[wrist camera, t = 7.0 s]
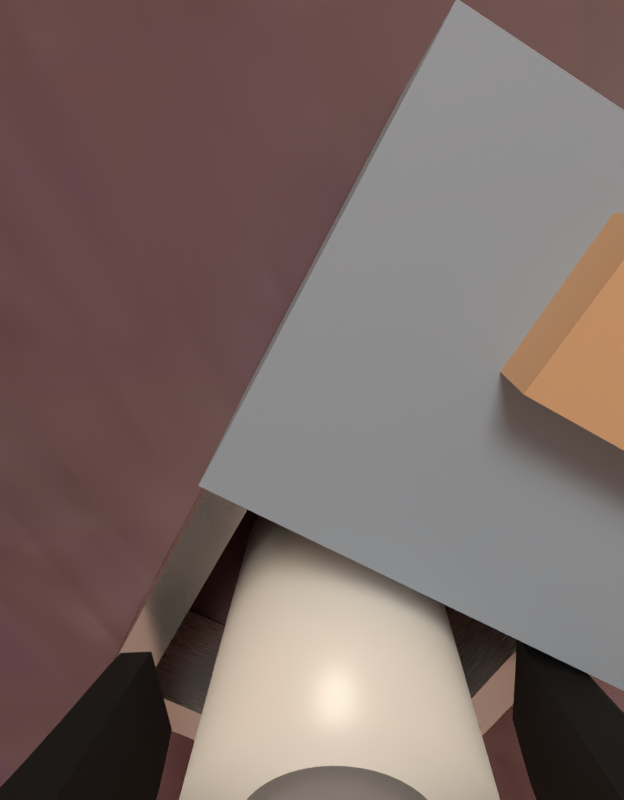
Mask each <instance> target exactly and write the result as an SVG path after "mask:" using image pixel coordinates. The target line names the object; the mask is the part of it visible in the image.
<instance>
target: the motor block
mask: <svg viewBox="0 0 624 800" xmlns="http://www.w3.org/2000/svg"><path fill="white" fill-rule="evenodd" d="M199 486H200V487H202V488H204V489H206V490H208V491H210V492H212V493H214V494H216V495H218V496H221V497H223V498H225V499H227V500H229V501H231V502H233V503H235V504H237V505H239V506H241V507H243V508H245V509H248V510H250V511H252V512H254V513H256V514H258V515H260V516H262V517H264V518H266V519H268V520H270V521H272V522H274V523H277V524H279V525H281V526H283V527H285V528H287V529H289V530H291V531H293V532H295V533H297V534H299V535H301V536H303V537H306V538H308V539H310V540H312V541H314V542H316V543H318V544H320V545H322V546H324V547H326V548H328V549H330V550H332V551H335V552H337V553H339V554H341V555H343V556H345V557H347V558H349V559H351V560H353V561H355V562H357V563H359V564H362V565H364V566H366V567H368V568H370V569H372V570H374V571H376V572H378V573H380V574H382V575H384V576H386V577H388V578H391V579H393V580H395V581H397V582H399V583H401V584H403V585H405V586H407V587H409V588H411V589H413V590H415V591H417V592H420V593H422V594H424V595H426V596H428V597H430V598H432V599H434V600H436V601H438V602H440V603H442V604H444V605H446V606H449V607H451V608H453V609H455V610H457V611H459V612H461V613H463V614H465V615H467V616H469V617H471V618H473V619H476V620H478V621H480V622H482V623H484V624H486V625H488V626H490V627H492V628H494V629H496V630H498V631H500V632H502V633H505V634H507V635H509V636H511V637H513V638H515V639H517V640H519V641H521V642H523V643H525V644H527V645H529V646H531V647H534V648H536V649H538V650H540V651H542V652H544V653H546V654H548V655H550V656H552V657H554V658H556V659H558V660H560V661H563V662H565V663H567V664H569V665H571V666H573V667H575V668H577V669H579V670H581V671H583V672H585V673H587V674H590V675H592V676H594V677H596V678H598V679H600V680H602V681H604V682H606V683H608V684H610V685H612V686H614V687H616V688H619V689H621V690H623V691H624V110H623V109H621V108H620V107H618V106H617V105H615V104H614V103H612V102H611V101H609V100H608V99H606V98H605V97H603V96H602V95H600V94H599V93H597V92H596V91H594V90H593V89H591V88H590V87H588V86H587V85H585V84H584V83H582V82H581V81H579V80H578V79H576V78H575V77H573V76H572V75H570V74H569V73H567V72H566V71H564V70H563V69H561V68H560V67H558V66H557V65H555V64H554V63H552V62H551V61H549V60H548V59H546V58H545V57H543V56H542V55H540V54H539V53H537V52H536V51H535V50H533V49H532V48H530V47H529V46H527V45H526V44H524V43H523V42H521V41H520V40H518V39H517V38H515V37H514V36H512V35H511V34H509V33H508V32H506V31H505V30H503V29H502V28H500V27H499V26H497V25H496V24H494V23H493V22H491V21H490V20H488V19H487V18H485V17H484V16H482V15H481V14H479V13H478V12H476V11H475V10H473V9H472V8H470V7H469V6H467V5H466V4H464V3H463V2H461V1H460V0H456V1H455V3H454V4H453V6H452V8H451V9H450V11H449V13H448V15H447V16H446V18H445V20H444V22H443V23H442V25H441V27H440V29H439V30H438V32H437V34H436V36H435V37H434V39H433V41H432V42H431V44H430V46H429V48H428V49H427V51H426V53H425V55H424V56H423V58H422V60H421V62H420V63H419V65H418V67H417V69H416V70H415V72H414V74H413V75H412V77H411V79H410V81H409V82H408V84H407V86H406V88H405V89H404V91H403V93H402V95H401V96H400V98H399V100H398V102H397V104H396V106H395V108H394V109H393V111H392V113H391V115H390V117H389V119H388V121H387V123H386V125H385V127H384V128H383V130H382V132H381V134H380V136H379V138H378V140H377V142H376V144H375V146H374V147H373V149H372V151H371V153H370V155H369V157H368V159H367V161H366V163H365V164H364V166H363V168H362V170H361V172H360V174H359V176H358V178H357V180H356V182H355V183H354V185H353V187H352V189H351V191H350V193H349V195H348V197H347V199H346V201H345V202H344V204H343V206H342V208H341V210H340V212H339V214H338V216H337V218H336V220H335V221H334V223H333V225H332V227H331V229H330V231H329V233H328V235H327V237H326V238H325V240H324V242H323V244H322V246H321V248H320V250H319V252H318V254H317V256H316V257H315V259H314V261H313V263H312V265H311V267H310V269H309V271H308V273H307V275H306V276H305V278H304V280H303V282H302V284H301V286H300V288H299V290H298V292H297V293H296V295H295V297H294V299H293V301H292V303H291V305H290V307H289V309H288V311H287V312H286V314H285V316H284V318H283V320H282V322H281V324H280V326H279V328H278V330H277V331H276V333H275V335H274V337H273V339H272V341H271V343H270V345H269V347H268V348H267V350H266V352H265V354H264V356H263V358H262V360H261V362H260V364H259V366H258V367H257V369H256V371H255V373H254V375H253V377H252V379H251V381H250V383H249V385H248V387H247V389H246V391H245V393H244V395H243V397H242V399H241V401H240V403H239V405H238V407H237V409H236V411H235V413H234V415H233V417H232V419H231V421H230V423H229V425H228V427H227V429H226V431H225V433H224V435H223V437H222V439H221V441H220V443H219V445H218V447H217V449H216V452H215V454H214V456H213V458H212V460H211V462H210V464H209V466H208V468H207V470H206V472H205V474H204V476H203V478H202V480H201V482H200V484H199Z"/></svg>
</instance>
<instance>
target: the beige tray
mask: <svg viewBox="0 0 624 800" xmlns="http://www.w3.org/2000/svg"><path fill="white" fill-rule="evenodd" d="M247 510H248V509H245V508H243V507H241V506H239V505H237V504H235V503H233V502H231V501H229V500H227V499H225V498H223V497H221V496H218V495H216V494H214V493H212V492H210V491H208V490H206V489H204V488H203V490H202V492H201V494H200V496H199V498H198V500H197V501H196V503H195V505H194V507H193V509H192V511H191V513H190V515H189V516H188V518H187V520H186V522H185V524H184V526H183V528H182V530H181V531H180V533H179V535H178V537H177V539H176V541H175V543H174V544H173V546H172V548H171V550H170V552H169V554H168V556H167V558H166V559H165V561H164V563H163V565H162V567H161V569H160V571H159V572H158V574H157V576H156V578H155V580H154V582H153V584H152V586H151V587H150V589H149V591H148V593H147V595H146V597H145V599H144V600H143V602H142V604H141V606H140V608H139V610H138V612H137V614H136V616H135V618H134V620H133V622H132V624H131V626H130V628H129V630H128V632H127V634H126V636H125V638H124V640H123V642H122V644H121V646H120V648H119V650H118V652H117V654H116V656H115V658H116V657H117V656H118V655H119V654H120V653H129V652H152V656H153V659H154V663H155V667H156V671H157V675H158V678H159V682H160V686H161V690H162V694H163V698H164V701H165V705H166V709H167V713H168V717H169V720H170V724H171V728H172V730H171V731H174V732H176V733H179V734H181V735H183V736H186V737H188V738H191V739H193V740H195V738H196V734H197V730H198V726H199V722H200V719H201V715H202V711H203V707H204V704H205V700H206V696H207V692H208V689H209V685H210V681H211V677H212V673H213V670H214V666H215V662H216V658H217V655H218V651H219V647H220V643H221V640H222V636H223V632H224V628H225V626H224V625H222V624H219V623H217V622H215V621H213V620H210V619H208V618H206V617H204V616H201V615H199V614H197V613H195V612H192V611H190V610H189V609H190V607H191V606H192V604H193V602H194V601H195V599H196V597H197V595H198V594H199V592H200V590H201V589H202V587H203V585H204V583H205V582H206V580H207V578H208V577H209V575H210V573H211V571H212V570H213V568H214V566H215V565H216V563H217V561H218V559H219V558H220V556H221V554H222V553H223V551H224V549H225V547H226V546H227V544H228V542H229V540H230V539H231V537H232V535H233V534H234V532H235V530H236V528H237V527H238V525H239V523H240V522H241V520H242V518H243V516H244V515H245V513H246V511H247ZM446 612H447V615H448V619H449V622H450V626H451V629H452V633H453V636H454V640H455V643H456V647H457V650H458V654H459V657H460V661H461V664H462V668H463V671H464V675H465V678H466V682H467V685H468V689H469V692H470V696H471V699H472V703H473V706H474V710H475V713H476V717H477V720H478V724H479V727H480V731H481V734H482V736H483V735H484V734H485V733H486V731H487V730H488V729H489V728H490V727H491V726H492V725H493V724H494V723H495V722H496V721H497V720H498V719H499V718H500V717H501V716H502V715H503V714H504V713H505V712H506V711H507V710H508V709H509V708H510V707H511V706H512V705H513V702H514V684H515V666H516V647H517V639H515V638H513V637H511V636H509V635H507V634H505V633H502V632H500V631H498V630H496V629H494V628H492V627H490V626H488V625H486V624H484V623H482V622H480V621H478V620H476V619H473V618H471V617H469V616H467V615H465V614H463V613H461V612H459V611H457V610H455V609H453V608H451V607H449V608H448V609H447V610H446ZM115 658H114V660H115ZM114 660H113V661H114Z"/></svg>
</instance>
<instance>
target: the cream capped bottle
mask: <svg viewBox="0 0 624 800" xmlns="http://www.w3.org/2000/svg"><path fill="white" fill-rule="evenodd" d="M179 800H500V798H499V794H498V790H497V787H496V783H495V780H494V776H493V773H492V769H491V766H490V762H489V759H488V755H487V752H486V748H485V745H484V741H483V738H482V734H481V731H480V727H479V724H478V720H477V717H476V713H475V710H474V706H473V703H472V699H471V696H470V692H469V689H468V685H467V682H466V678H465V675H464V671H463V668H462V664H461V661H460V657H459V654H458V650H457V647H456V643H455V640H454V636H453V633H452V629H451V626H450V622H449V619H448V615H447V612H446V608H445V605H444V604H442V603H440V602H438V601H436V600H434V599H432V598H430V597H428V596H426V595H424V594H422V593H420V592H417V591H415V590H413V589H411V588H409V587H407V586H405V585H403V584H401V583H399V582H397V581H395V580H393V579H391V578H388V577H386V576H384V575H382V574H380V573H378V572H376V571H374V570H372V569H370V568H368V567H366V566H364V565H362V564H359V563H357V562H355V561H353V560H351V559H349V558H347V557H345V556H343V555H341V554H339V553H337V552H335V551H332V550H330V549H328V548H326V547H324V546H322V545H320V544H318V543H316V542H314V541H312V540H310V539H308V538H306V537H303V536H301V535H299V534H297V533H295V532H293V531H291V530H289V529H287V528H285V527H283V526H281V525H279V524H277V523H274V522H272V521H270V520H268V519H266V518H264V517H262V516H260V515H258V517H257V519H256V520H255V522H254V524H253V526H252V529H251V531H250V534H249V538H248V542H247V545H246V549H245V553H244V557H243V560H242V564H241V568H240V572H239V575H238V579H237V583H236V587H235V591H234V594H233V598H232V602H231V606H230V609H229V613H228V617H227V621H226V624H225V628H224V632H223V636H222V640H221V643H220V647H219V651H218V655H217V658H216V662H215V666H214V670H213V673H212V677H211V681H210V685H209V689H208V692H207V696H206V700H205V704H204V707H203V711H202V715H201V719H200V722H199V726H198V730H197V734H196V738H195V741H194V745H193V749H192V753H191V756H190V760H189V764H188V768H187V771H186V775H185V779H184V783H183V787H182V790H181V794H180V798H179Z"/></svg>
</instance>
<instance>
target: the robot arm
mask: <svg viewBox="0 0 624 800" xmlns="http://www.w3.org/2000/svg"><path fill="white" fill-rule="evenodd" d="M513 722H514V726H515V730H516V733H517V737H518V741H519V744H520V748H521V752H522V755H523V759H524V762H525V765H526V769H527V772H528V776H529V779H530V783H531V786H532V788H533V791H534V794H535V796H536V799H537V800H624V713H623V712H622V711H621V710H620V709H619V708H618V706H617V705H616V704H615V703H614V702H613V701H612V700H611V699H610V698H609V697H608V696H607V695H606V693H605V692H604V691H603V690H602V689H601V688H600V687H599V686H598V685H597V684H596V683H595V681H594V680H593V679H592V678H591V677H590V676H589V675H588V674H587V673H585V672H583V671H581V670H579V669H577V668H575V667H573V666H571V665H569V664H567V663H565V662H563V661H560V660H558V659H556V658H554V657H552V656H550V655H548V654H546V653H544V652H542V651H540V650H538V649H536V648H534V647H531V646H529V645H527V644H525V643H523V642H521V641H519V640H517V647H516V666H515V684H514V702H513ZM171 730H172V728H171V724H170V720H169V717H168V713H167V709H166V705H165V701H164V698H163V694H162V690H161V686H160V682H159V678H158V675H157V671H156V667H155V663H154V659H153V656H152V652H129V653H120V654H119V655H118V656H117V657H116V658H115V660H114V661H113V662H112V663H111V664H110V665H109V666H108V667H107V668H106V670H105V671H104V672H103V673H102V674H101V675H100V676H99V678H98V679H97V680H96V681H95V682H94V683H93V685H92V686H91V687H90V688H89V689H88V690H87V691H86V693H85V694H84V695H83V696H82V697H81V698H80V700H79V701H78V702H77V703H76V704H75V705H74V706H73V708H72V709H71V710H70V711H69V712H68V713H67V714H66V716H65V717H64V718H63V719H62V720H61V721H60V723H59V724H58V725H57V726H56V727H55V728H54V729H53V730H52V731H51V733H50V734H49V735H48V736H47V737H46V738H45V739H44V740H43V742H42V743H41V744H40V745H39V746H38V747H37V748H36V749H35V750H34V752H33V753H32V754H31V755H30V756H29V757H28V758H27V759H26V760H25V762H24V763H23V764H22V765H21V766H20V767H19V768H18V769H17V770H16V771H15V772H14V774H13V775H12V776H11V777H10V778H9V779H8V780H7V781H6V782H5V783H4V784H3V785H2V786H1V787H0V800H156V798H157V794H158V791H159V786H160V782H161V778H162V773H163V769H164V764H165V760H166V755H167V750H168V745H169V740H170V735H171Z"/></svg>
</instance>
